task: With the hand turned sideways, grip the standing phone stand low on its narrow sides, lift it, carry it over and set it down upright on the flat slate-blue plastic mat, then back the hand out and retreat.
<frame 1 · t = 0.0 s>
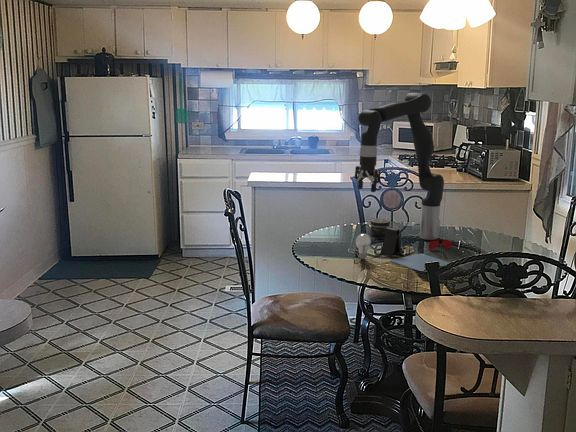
hand: (366, 190, 274), 29 cm above the table, tool pointing down, fingers open, 8 cm apart
jar: (379, 235, 311), on the table
tray: (422, 263, 264), on the table
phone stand: (391, 253, 279), on the table
light bulb: (362, 260, 269), on the table
glasses: (449, 254, 280), on the table
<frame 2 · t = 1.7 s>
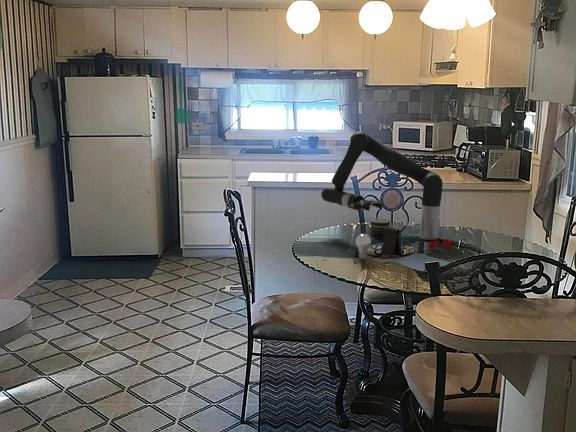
hand: (375, 207, 283), 20 cm above the table, tool horizontal, fingers open, 8 cm apart
nothing on the table moved.
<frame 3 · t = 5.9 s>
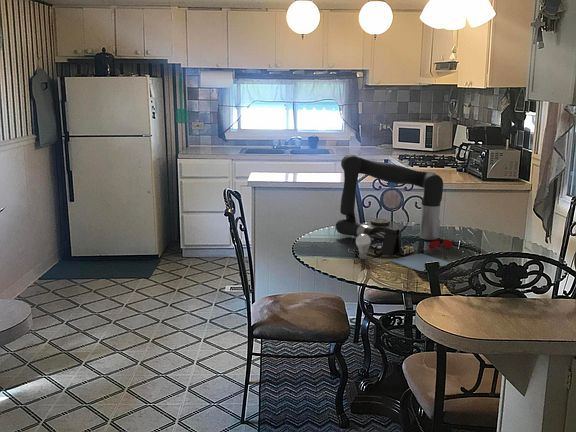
hand: (394, 241, 276), 6 cm above the table, tool horizontal, fingers closed on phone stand, 2 cm apart
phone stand: (391, 253, 279), on the table, touching gripper
everything else where it was.
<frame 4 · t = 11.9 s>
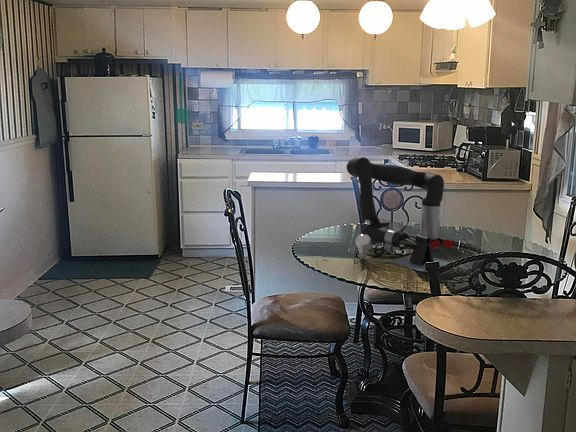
hand: (425, 247, 261), 8 cm above the table, tool horizontal, fingers closed
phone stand: (421, 262, 264), resting on tray, touching gripper
everything else where it was.
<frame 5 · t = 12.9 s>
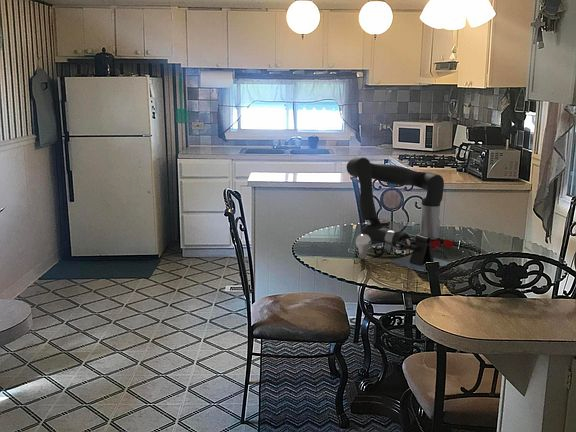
hand: (424, 247, 262), 8 cm above the table, tool horizontal, fingers open, 8 cm apart
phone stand: (421, 262, 264), resting on tray
everything else where it was.
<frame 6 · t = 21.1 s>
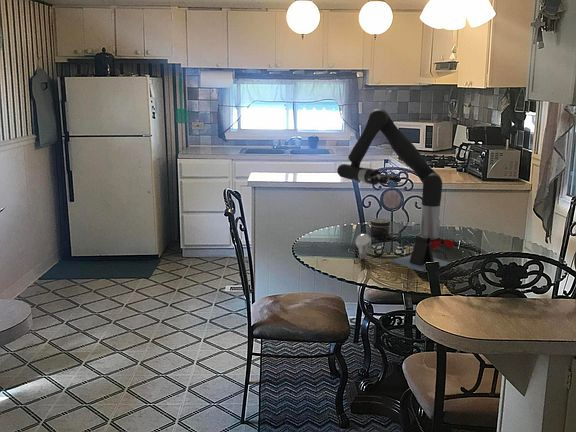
hand: (393, 181, 283), 32 cm above the table, tool horizontal, fingers open, 8 cm apart
nothing on the table moved.
at the end: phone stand inside the target area on the tray (0.4 cm from its centre), point 0.4 cm above the tray's base; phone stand tilted 0°; the gripper is holding nothing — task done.
